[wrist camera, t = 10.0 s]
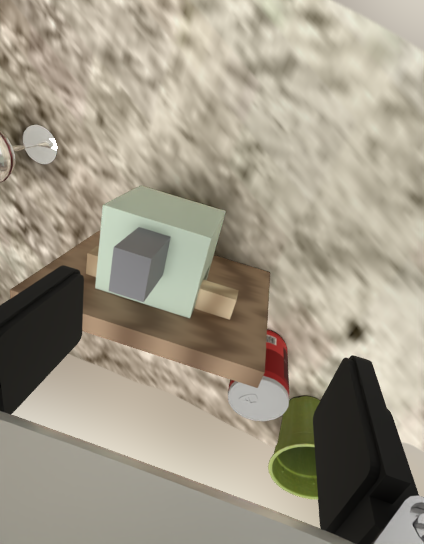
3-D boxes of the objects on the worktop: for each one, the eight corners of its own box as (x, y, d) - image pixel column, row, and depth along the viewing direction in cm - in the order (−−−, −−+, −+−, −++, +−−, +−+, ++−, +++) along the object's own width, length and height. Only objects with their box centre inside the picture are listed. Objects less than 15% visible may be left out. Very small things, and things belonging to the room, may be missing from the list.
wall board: (275, 256, 45) (274, 351, 27) (253, 316, 50) (239, 429, 32) (112, 206, 46) (8, 266, 28) (105, 270, 51) (13, 354, 33)
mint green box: (225, 211, 36) (198, 261, 24) (207, 278, 40) (175, 350, 28) (140, 185, 37) (70, 221, 24) (130, 254, 41) (66, 315, 28)
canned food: (228, 337, 52) (216, 388, 43) (273, 320, 49) (271, 371, 40) (251, 371, 54) (245, 427, 45) (295, 356, 52) (299, 413, 42)
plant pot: (345, 387, 52) (360, 451, 42) (337, 437, 57) (350, 505, 48) (270, 380, 55) (268, 440, 45) (269, 429, 60) (268, 493, 50)
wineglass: (12, 114, 43) (-76, 115, 32) (60, 120, 42) (-14, 123, 31) (21, 167, 46) (-56, 184, 35) (65, 173, 45) (0, 192, 34)
